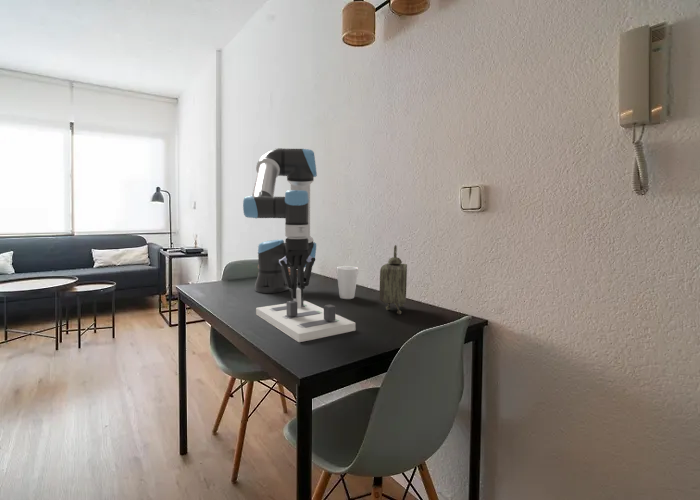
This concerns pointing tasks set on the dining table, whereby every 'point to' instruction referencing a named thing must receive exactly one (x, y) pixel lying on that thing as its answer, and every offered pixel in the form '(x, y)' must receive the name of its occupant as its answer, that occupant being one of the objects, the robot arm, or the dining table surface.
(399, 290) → the tabletop clock
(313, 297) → the dining table surface
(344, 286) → the foam cup
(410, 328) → the dining table surface
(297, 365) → the dining table surface
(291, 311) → the handle
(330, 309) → the handle
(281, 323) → the breaker panel
